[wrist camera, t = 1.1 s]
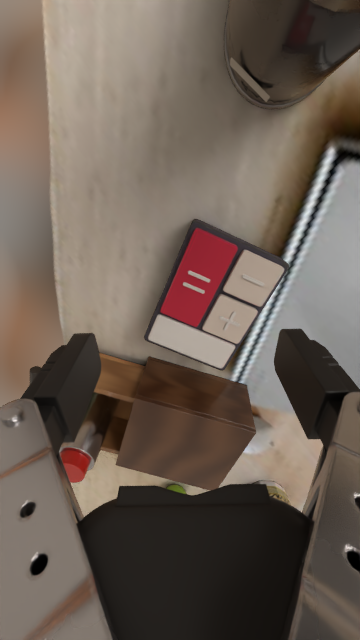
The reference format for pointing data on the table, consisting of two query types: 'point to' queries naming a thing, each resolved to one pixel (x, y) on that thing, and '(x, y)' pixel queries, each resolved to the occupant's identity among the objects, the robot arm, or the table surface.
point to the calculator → (213, 295)
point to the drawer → (115, 394)
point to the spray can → (89, 437)
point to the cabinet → (186, 425)
